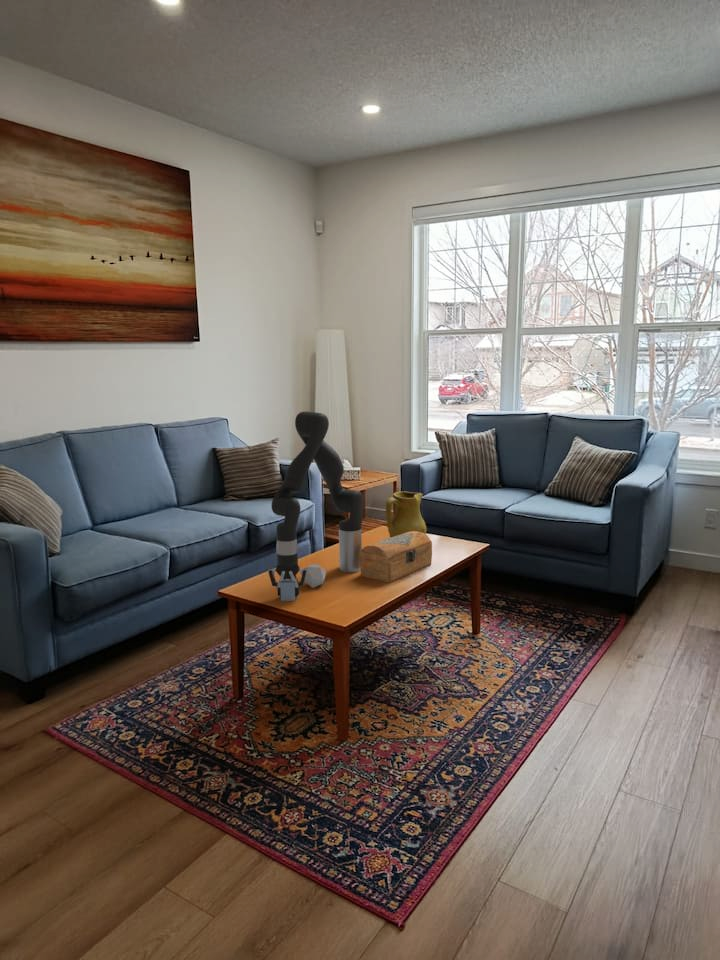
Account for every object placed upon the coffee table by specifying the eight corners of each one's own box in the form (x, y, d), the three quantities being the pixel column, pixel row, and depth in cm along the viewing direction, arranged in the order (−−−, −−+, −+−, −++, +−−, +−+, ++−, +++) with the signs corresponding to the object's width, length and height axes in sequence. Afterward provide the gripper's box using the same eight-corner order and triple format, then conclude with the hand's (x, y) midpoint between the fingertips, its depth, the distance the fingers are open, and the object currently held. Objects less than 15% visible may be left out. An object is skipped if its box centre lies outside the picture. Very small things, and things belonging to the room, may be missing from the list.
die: (322, 590, 252) (327, 585, 262) (323, 566, 252) (327, 562, 262) (300, 589, 253) (305, 584, 263) (300, 565, 253) (306, 561, 263)
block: (282, 596, 247) (281, 578, 245) (296, 596, 247) (295, 578, 245) (280, 601, 242) (280, 582, 240) (294, 601, 242) (294, 582, 240)
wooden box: (391, 584, 259) (391, 549, 257) (358, 576, 270) (358, 542, 267) (435, 566, 281) (435, 533, 279) (403, 558, 292) (403, 527, 290)
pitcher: (427, 551, 301) (427, 497, 297) (385, 551, 302) (385, 497, 297) (425, 541, 318) (425, 489, 313) (385, 541, 319) (385, 489, 314)
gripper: (307, 548, 245) (309, 593, 248) (268, 548, 245) (270, 593, 248) (306, 554, 237) (307, 600, 240) (265, 554, 237) (267, 600, 240)
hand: (288, 596), depth 244 cm, fingers closed on block, 5 cm apart
